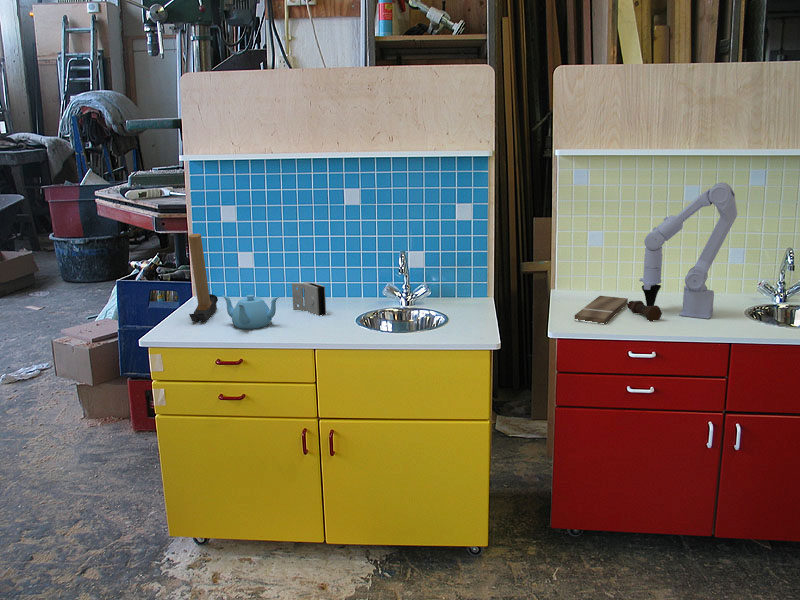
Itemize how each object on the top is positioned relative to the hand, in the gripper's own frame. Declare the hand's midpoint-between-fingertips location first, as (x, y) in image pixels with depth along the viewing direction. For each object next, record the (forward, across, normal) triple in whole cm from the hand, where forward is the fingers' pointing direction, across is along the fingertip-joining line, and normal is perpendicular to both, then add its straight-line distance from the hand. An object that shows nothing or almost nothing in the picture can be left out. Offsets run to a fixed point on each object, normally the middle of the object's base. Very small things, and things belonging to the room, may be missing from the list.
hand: (650, 306), depth 258 cm
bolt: (+2, +7, -1) cm, 8 cm away
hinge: (+2, +54, -105) cm, 118 cm away
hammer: (+2, +74, -134) cm, 154 cm away
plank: (+2, +9, -14) cm, 17 cm away
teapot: (+2, +77, -112) cm, 135 cm away
